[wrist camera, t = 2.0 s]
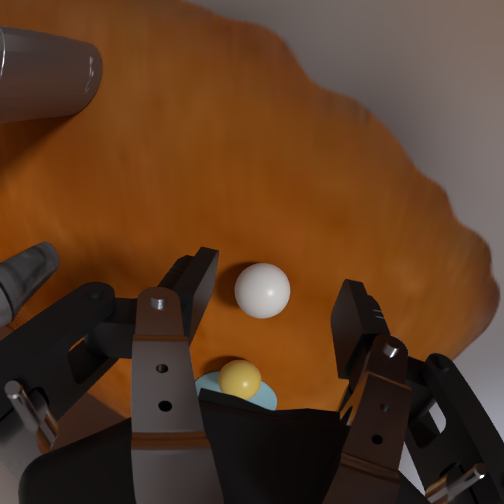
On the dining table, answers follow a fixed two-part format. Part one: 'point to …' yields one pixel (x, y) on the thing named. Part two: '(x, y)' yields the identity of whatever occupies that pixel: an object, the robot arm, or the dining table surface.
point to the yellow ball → (239, 379)
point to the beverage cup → (24, 278)
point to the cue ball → (262, 290)
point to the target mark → (262, 398)
